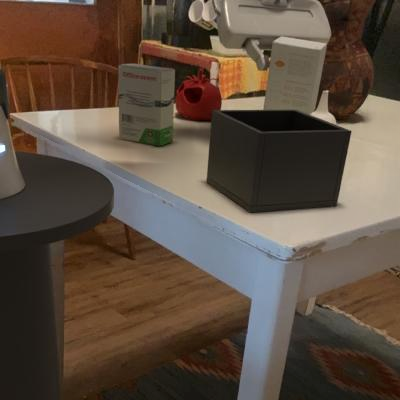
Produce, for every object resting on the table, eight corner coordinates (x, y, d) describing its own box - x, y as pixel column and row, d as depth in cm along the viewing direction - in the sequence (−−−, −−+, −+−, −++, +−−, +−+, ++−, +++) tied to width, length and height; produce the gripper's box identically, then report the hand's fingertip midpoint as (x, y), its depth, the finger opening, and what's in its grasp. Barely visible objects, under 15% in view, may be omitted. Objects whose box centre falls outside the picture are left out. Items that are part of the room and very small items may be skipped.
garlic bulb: (332, 131, 125) (339, 89, 121) (336, 137, 120) (344, 94, 116) (301, 128, 125) (308, 86, 121) (304, 135, 120) (311, 91, 116)
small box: (315, 111, 104) (328, 43, 98) (308, 119, 100) (322, 49, 94) (270, 102, 106) (281, 35, 100) (262, 110, 102) (272, 40, 95)
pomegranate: (203, 111, 133) (206, 64, 128) (230, 121, 126) (234, 72, 121) (164, 113, 128) (166, 64, 123) (190, 123, 121) (193, 72, 116)
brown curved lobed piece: (259, 103, 146) (273, -19, 133) (335, 105, 152) (357, -12, 139) (298, 124, 129) (319, -15, 115) (383, 125, 135) (413, -7, 121)
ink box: (174, 142, 107) (177, 67, 101) (159, 147, 103) (162, 70, 97) (132, 133, 110) (133, 61, 104) (117, 138, 106) (116, 63, 100)
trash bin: (250, 212, 78) (259, 133, 73) (206, 181, 88) (211, 110, 83) (336, 205, 83) (351, 130, 78) (285, 177, 93) (296, 109, 88)
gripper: (216, -25, 95) (238, 53, 94) (324, -14, 103) (345, 58, 101) (202, 6, 101) (222, 80, 99) (305, 14, 109) (325, 82, 107)
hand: (285, 69), depth 100 cm, fingers closed on small box, 7 cm apart
